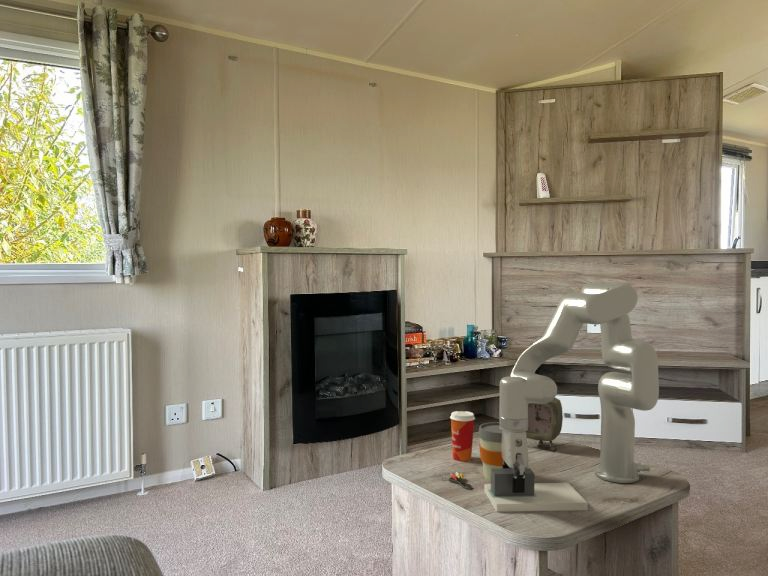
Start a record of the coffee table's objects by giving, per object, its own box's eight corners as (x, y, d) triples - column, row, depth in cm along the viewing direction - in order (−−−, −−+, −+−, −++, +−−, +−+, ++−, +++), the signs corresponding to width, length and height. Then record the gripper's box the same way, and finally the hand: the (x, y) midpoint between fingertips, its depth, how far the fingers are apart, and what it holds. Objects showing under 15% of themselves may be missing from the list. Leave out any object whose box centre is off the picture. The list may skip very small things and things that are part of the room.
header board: (567, 489, 166) (567, 472, 166) (587, 510, 152) (587, 491, 152) (484, 490, 165) (484, 473, 165) (496, 511, 151) (496, 492, 151)
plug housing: (529, 489, 160) (529, 468, 160) (534, 495, 156) (534, 473, 156) (490, 490, 160) (490, 468, 160) (494, 496, 156) (494, 474, 155)
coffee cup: (448, 454, 197) (449, 410, 196) (473, 454, 197) (473, 410, 196) (450, 462, 189) (451, 416, 188) (476, 463, 188) (476, 417, 188)
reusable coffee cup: (506, 467, 184) (507, 420, 183) (528, 481, 172) (529, 431, 172) (470, 471, 180) (471, 423, 179) (490, 486, 168) (491, 435, 168)
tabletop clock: (515, 446, 206) (516, 376, 205) (523, 440, 214) (524, 372, 213) (556, 453, 199) (558, 380, 198) (563, 446, 206) (564, 376, 206)
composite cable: (474, 490, 166) (474, 482, 166) (458, 492, 165) (458, 483, 165) (461, 478, 176) (461, 470, 175) (446, 479, 174) (446, 471, 174)
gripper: (537, 432, 149) (536, 497, 150) (518, 414, 166) (517, 473, 167) (508, 432, 148) (508, 498, 149) (492, 415, 166) (491, 474, 166)
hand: (513, 485), depth 158 cm, fingers open, 9 cm apart
